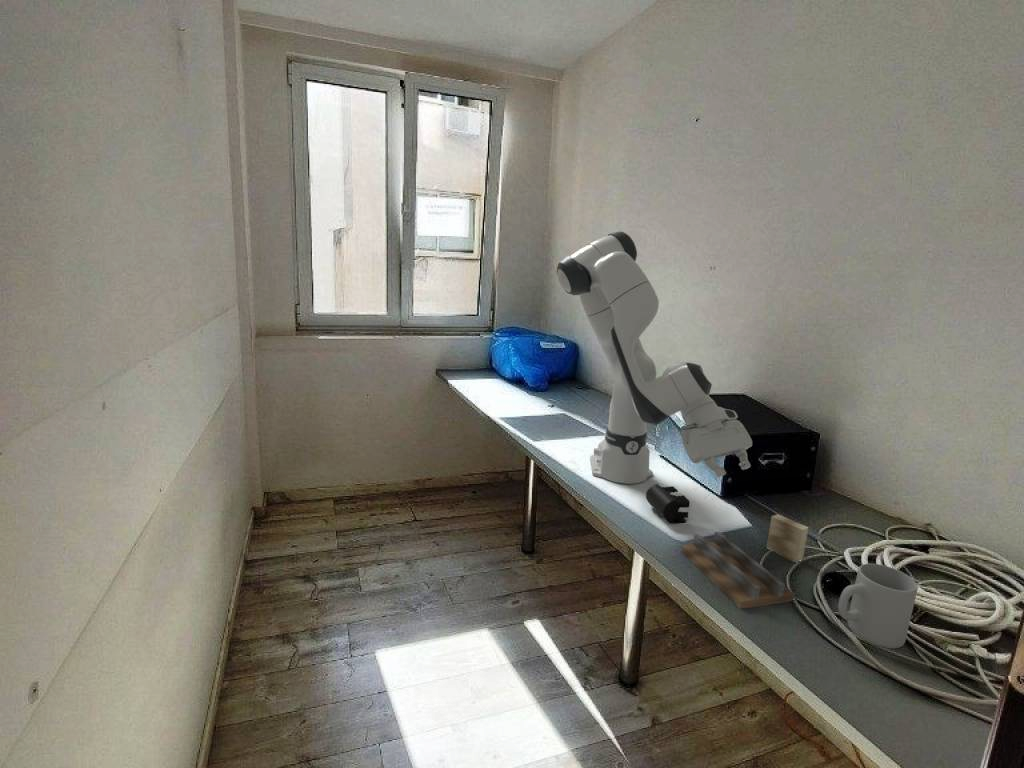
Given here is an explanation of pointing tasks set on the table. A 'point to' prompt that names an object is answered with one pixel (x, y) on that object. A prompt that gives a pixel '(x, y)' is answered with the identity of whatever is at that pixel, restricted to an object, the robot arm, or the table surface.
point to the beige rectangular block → (787, 538)
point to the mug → (879, 605)
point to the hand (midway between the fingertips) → (734, 471)
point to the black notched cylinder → (668, 503)
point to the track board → (736, 572)
